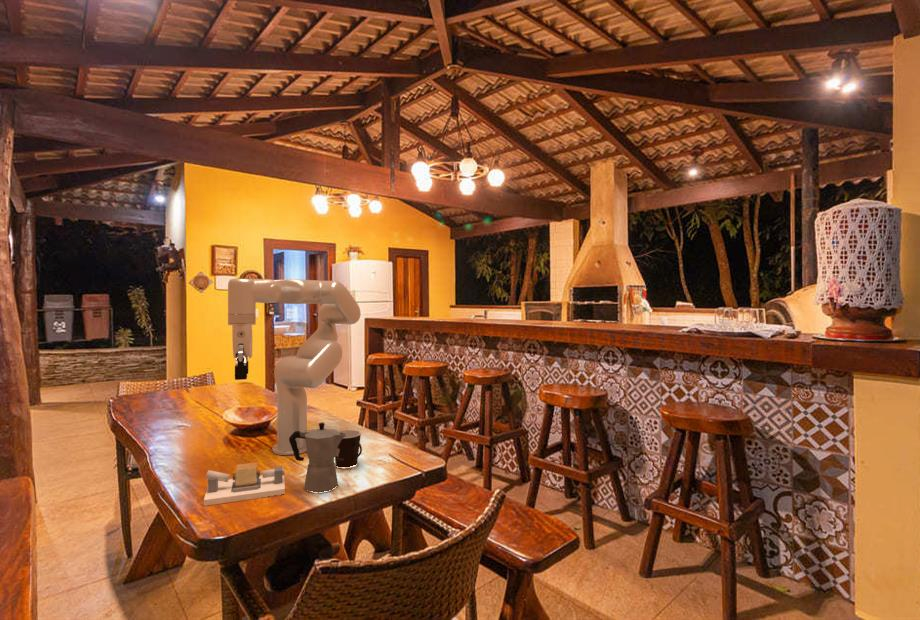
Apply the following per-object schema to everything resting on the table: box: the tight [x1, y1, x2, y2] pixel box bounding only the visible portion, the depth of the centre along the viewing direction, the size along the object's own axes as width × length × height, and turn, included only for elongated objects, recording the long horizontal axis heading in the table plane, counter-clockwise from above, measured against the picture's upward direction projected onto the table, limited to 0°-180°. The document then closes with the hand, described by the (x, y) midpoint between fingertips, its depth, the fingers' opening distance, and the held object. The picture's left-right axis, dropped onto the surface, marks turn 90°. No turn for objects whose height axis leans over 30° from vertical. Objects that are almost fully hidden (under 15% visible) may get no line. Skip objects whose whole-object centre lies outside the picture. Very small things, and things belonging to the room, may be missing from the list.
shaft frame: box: [203, 465, 286, 507], centre depth 124 cm, size 19×12×7 cm, turn 113°
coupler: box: [232, 462, 261, 488], centre depth 124 cm, size 7×4×5 cm
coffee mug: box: [334, 429, 363, 467], centre depth 142 cm, size 12×9×10 cm
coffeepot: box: [289, 422, 346, 492], centre depth 127 cm, size 15×9×18 cm, turn 93°
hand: (241, 376), depth 138 cm, fingers open, 9 cm apart
